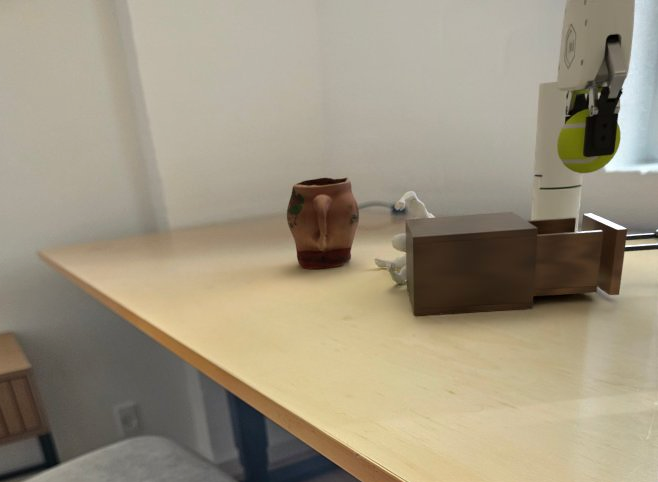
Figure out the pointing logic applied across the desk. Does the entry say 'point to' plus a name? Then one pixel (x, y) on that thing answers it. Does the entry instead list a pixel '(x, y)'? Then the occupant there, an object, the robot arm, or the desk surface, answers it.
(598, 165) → the tennis ball
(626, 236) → the drawer
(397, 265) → the person figurine
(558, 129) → the cylindrical container
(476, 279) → the cabinet
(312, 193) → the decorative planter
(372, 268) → the desk surface
